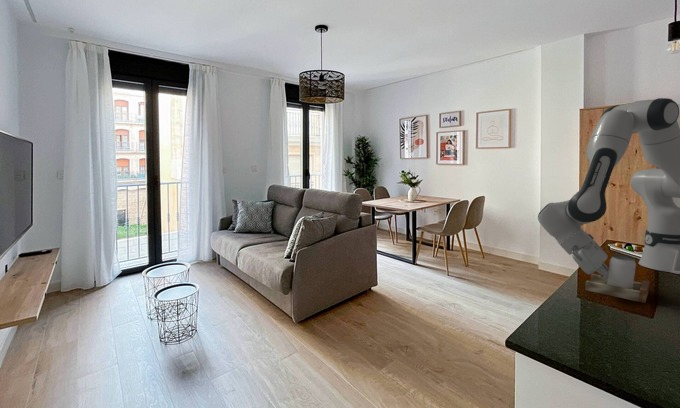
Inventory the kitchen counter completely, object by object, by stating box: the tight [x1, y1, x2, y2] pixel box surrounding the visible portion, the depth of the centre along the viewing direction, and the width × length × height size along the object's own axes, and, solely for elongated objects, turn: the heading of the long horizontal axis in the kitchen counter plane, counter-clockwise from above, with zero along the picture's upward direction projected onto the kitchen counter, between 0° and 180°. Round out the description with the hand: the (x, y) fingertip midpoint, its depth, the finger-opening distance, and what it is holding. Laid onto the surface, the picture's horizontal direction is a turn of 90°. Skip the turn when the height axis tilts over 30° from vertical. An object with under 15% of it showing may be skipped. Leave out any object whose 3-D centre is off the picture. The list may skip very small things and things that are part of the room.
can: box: [607, 254, 637, 289], centre depth 108 cm, size 6×6×12 cm
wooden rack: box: [584, 273, 650, 304], centre depth 109 cm, size 15×10×4 cm
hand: (610, 277), depth 110 cm, fingers closed, pressing on can
